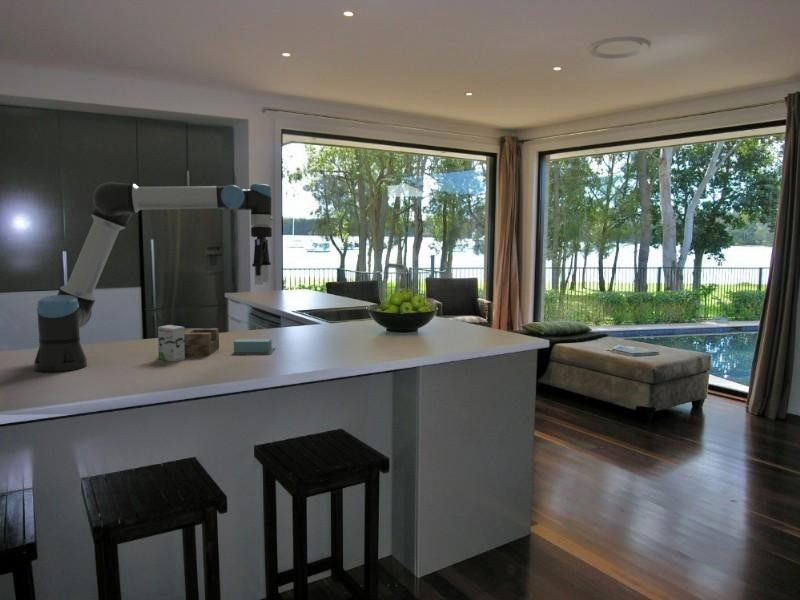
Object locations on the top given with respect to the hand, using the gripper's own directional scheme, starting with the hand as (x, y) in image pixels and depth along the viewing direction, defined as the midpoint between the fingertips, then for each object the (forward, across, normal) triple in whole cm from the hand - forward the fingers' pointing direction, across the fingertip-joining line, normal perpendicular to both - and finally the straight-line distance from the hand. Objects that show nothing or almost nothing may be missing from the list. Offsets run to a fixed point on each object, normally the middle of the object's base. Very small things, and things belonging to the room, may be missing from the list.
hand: (262, 283), depth 226 cm
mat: (+26, 0, +3) cm, 26 cm away
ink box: (+26, -14, +30) cm, 42 cm away
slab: (+26, 0, +4) cm, 26 cm away
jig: (+26, 0, +26) cm, 37 cm away
